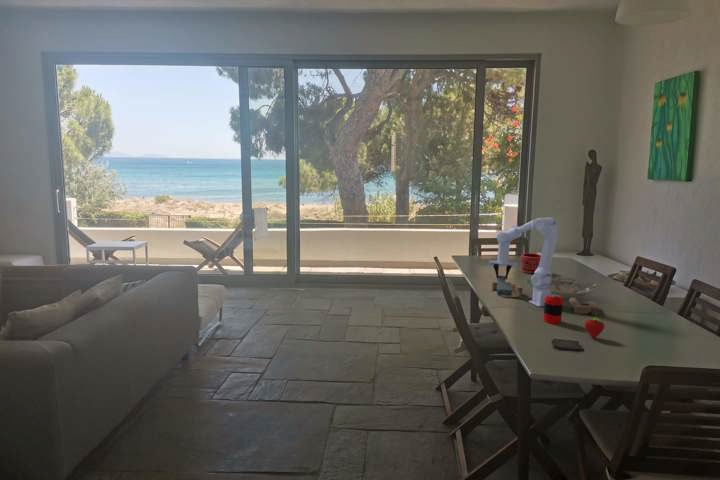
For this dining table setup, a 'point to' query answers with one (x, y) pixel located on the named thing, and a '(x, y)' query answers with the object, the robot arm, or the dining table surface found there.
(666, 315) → the dining table surface
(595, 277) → the dining table surface
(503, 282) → the bracket
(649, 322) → the dining table surface
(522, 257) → the plant pot
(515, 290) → the corner fence
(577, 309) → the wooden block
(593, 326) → the strawberry
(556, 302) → the soda can
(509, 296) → the pose pad
